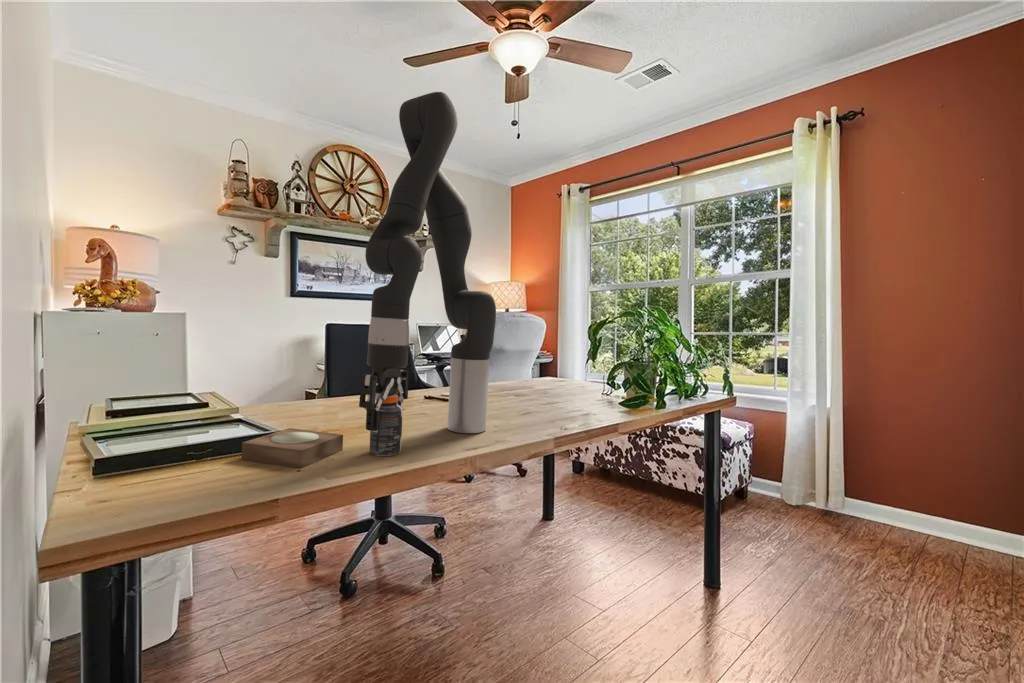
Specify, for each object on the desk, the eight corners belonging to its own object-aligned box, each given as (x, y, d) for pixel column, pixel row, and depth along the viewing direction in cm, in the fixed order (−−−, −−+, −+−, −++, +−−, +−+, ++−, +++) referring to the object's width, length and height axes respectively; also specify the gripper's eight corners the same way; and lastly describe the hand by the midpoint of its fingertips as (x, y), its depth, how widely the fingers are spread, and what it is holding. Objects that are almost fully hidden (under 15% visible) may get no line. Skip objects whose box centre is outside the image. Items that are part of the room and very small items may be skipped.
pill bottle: (405, 449, 94) (407, 393, 94) (394, 458, 88) (397, 397, 88) (376, 447, 95) (378, 391, 94) (364, 455, 89) (366, 395, 88)
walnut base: (289, 443, 94) (289, 427, 94) (342, 450, 91) (343, 433, 91) (241, 459, 82) (242, 441, 82) (301, 468, 80) (301, 449, 79)
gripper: (387, 344, 83) (382, 436, 83) (422, 343, 96) (417, 421, 97) (349, 341, 84) (344, 431, 85) (389, 340, 98) (384, 417, 99)
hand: (383, 426), depth 91 cm, fingers open, 8 cm apart
